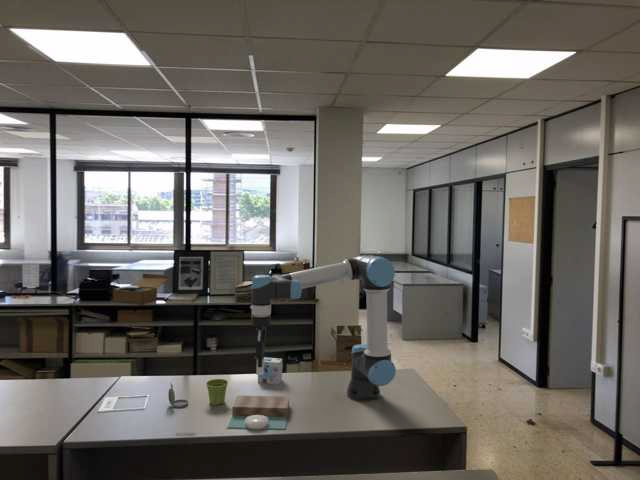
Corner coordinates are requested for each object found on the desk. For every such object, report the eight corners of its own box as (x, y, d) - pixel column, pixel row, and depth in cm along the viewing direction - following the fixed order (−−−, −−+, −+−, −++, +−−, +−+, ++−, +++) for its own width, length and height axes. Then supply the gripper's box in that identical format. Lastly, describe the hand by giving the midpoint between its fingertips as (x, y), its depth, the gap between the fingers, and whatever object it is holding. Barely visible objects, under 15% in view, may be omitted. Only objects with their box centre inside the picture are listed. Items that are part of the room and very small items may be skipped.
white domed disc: (269, 419, 191) (269, 415, 191) (267, 429, 182) (267, 425, 182) (246, 419, 191) (246, 414, 191) (243, 429, 182) (243, 424, 182)
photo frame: (105, 397, 209) (149, 394, 213) (105, 399, 209) (149, 396, 213) (97, 410, 194) (145, 407, 198) (97, 413, 194) (145, 410, 199)
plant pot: (223, 407, 202) (223, 387, 201) (202, 405, 204) (202, 385, 203) (231, 399, 211) (231, 379, 211) (211, 397, 213) (211, 377, 212)
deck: (289, 405, 206) (289, 396, 205) (287, 417, 194) (287, 408, 193) (237, 404, 205) (237, 395, 205) (232, 416, 194) (232, 406, 193)
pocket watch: (191, 403, 205) (191, 380, 205) (177, 410, 198) (178, 386, 197) (176, 400, 209) (176, 377, 208) (162, 407, 201) (162, 383, 201)
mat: (287, 417, 194) (287, 416, 194) (285, 429, 183) (285, 428, 183) (232, 416, 194) (232, 415, 193) (227, 428, 183) (227, 427, 183)
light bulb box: (257, 382, 232) (257, 360, 231) (261, 378, 239) (261, 356, 238) (278, 384, 230) (279, 362, 230) (282, 380, 237) (282, 358, 236)
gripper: (253, 311, 195) (252, 368, 197) (249, 318, 182) (248, 379, 184) (272, 311, 195) (271, 369, 197) (269, 318, 182) (267, 380, 184)
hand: (260, 374), depth 190 cm, fingers closed
